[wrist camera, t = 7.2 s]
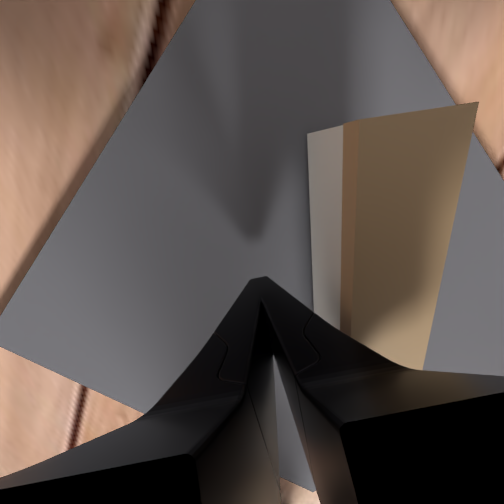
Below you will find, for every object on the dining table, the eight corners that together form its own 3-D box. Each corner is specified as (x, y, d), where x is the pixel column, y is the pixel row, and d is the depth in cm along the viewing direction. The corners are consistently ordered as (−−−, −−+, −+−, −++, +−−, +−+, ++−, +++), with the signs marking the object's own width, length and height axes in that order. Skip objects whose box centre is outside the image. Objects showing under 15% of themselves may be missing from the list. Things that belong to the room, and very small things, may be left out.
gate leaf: (346, 432, 15) (386, 541, 11) (314, 436, 15) (342, 546, 11) (358, 126, 8) (479, 101, 4) (299, 134, 8) (359, 119, 4)
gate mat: (309, 476, 20) (313, 492, 19) (4, 325, 13) (-15, 339, 12) (574, 318, 14) (597, 330, 13) (285, -115, 7) (292, -156, 6)
